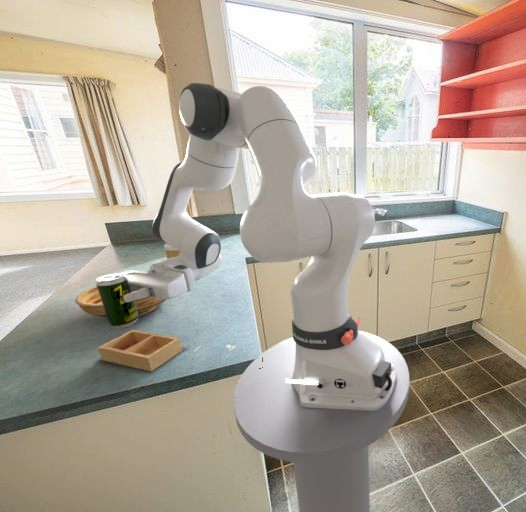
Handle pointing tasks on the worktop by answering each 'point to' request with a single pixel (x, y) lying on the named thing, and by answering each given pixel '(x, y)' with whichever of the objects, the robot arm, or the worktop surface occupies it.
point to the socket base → (140, 349)
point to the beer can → (116, 300)
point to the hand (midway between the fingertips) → (112, 297)
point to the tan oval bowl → (94, 306)
